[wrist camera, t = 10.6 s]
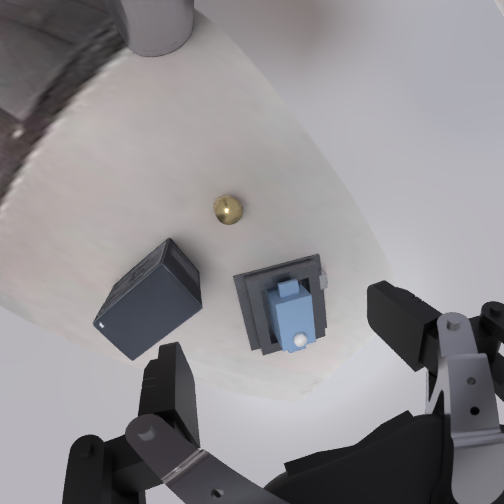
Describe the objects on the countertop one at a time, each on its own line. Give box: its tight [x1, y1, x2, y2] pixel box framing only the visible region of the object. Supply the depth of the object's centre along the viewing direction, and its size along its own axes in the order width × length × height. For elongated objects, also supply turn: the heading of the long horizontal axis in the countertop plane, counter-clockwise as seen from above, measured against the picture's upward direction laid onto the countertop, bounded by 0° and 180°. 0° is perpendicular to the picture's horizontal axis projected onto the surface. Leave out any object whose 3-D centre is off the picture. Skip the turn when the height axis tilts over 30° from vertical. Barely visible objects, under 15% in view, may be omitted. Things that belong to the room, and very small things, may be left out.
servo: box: [265, 279, 316, 353], centre depth 37 cm, size 10×4×6 cm, turn 11°
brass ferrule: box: [213, 195, 243, 225], centre depth 33 cm, size 3×3×4 cm
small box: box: [93, 238, 203, 361], centre depth 31 cm, size 11×6×10 cm, turn 127°
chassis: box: [233, 254, 327, 355], centre depth 39 cm, size 12×12×3 cm
